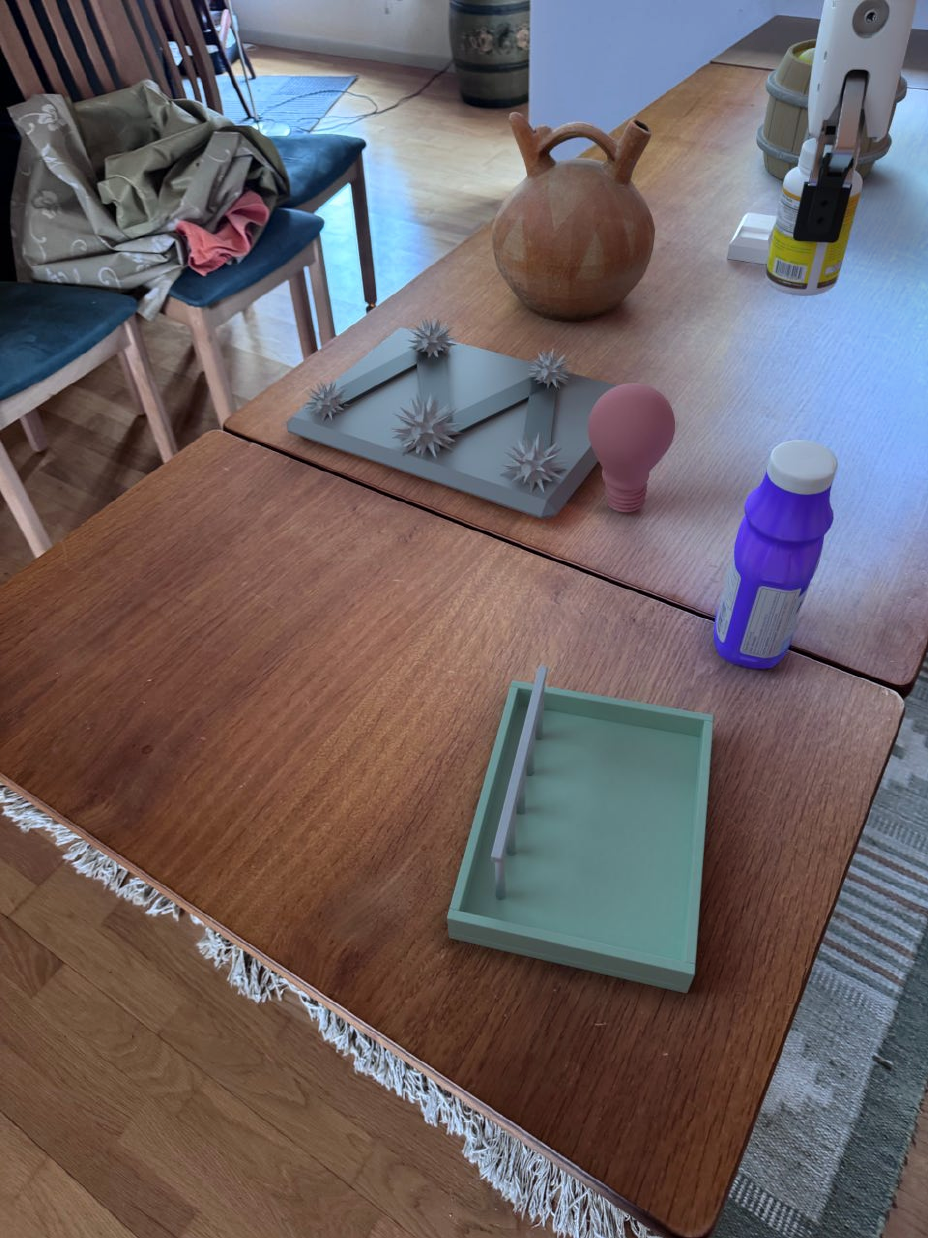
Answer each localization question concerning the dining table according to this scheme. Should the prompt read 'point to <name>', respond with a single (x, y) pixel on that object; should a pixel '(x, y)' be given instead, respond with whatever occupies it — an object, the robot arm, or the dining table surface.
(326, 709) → the dining table surface
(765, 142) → the mug
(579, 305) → the jug
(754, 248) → the white stepped block
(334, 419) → the decorative plate
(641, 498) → the light bulb
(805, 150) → the supplement bottle
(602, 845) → the dish rack
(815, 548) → the bottle
